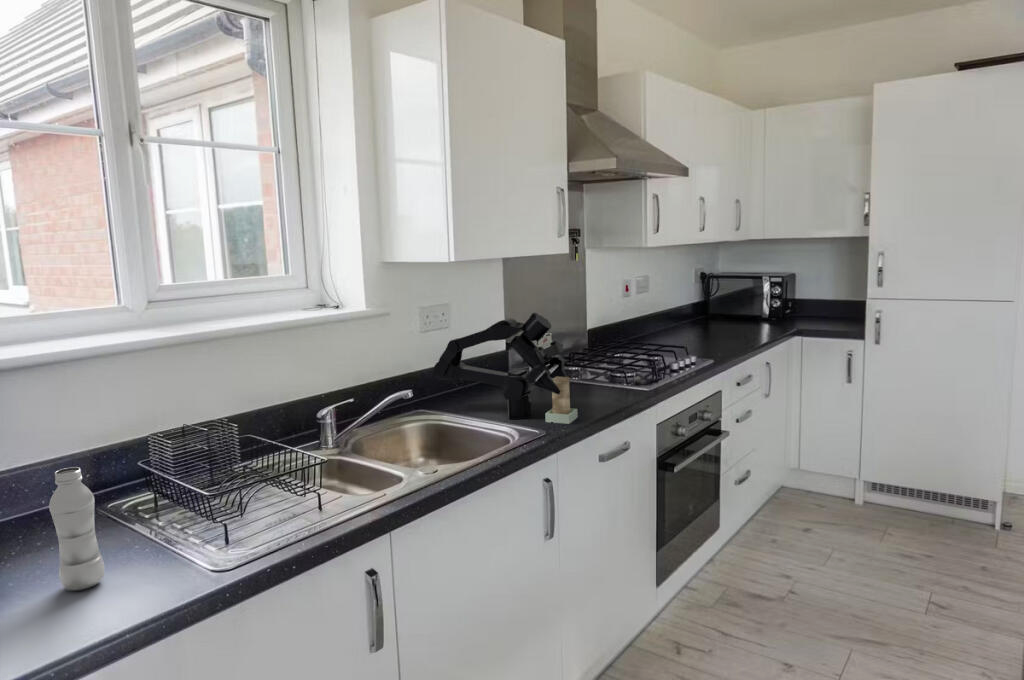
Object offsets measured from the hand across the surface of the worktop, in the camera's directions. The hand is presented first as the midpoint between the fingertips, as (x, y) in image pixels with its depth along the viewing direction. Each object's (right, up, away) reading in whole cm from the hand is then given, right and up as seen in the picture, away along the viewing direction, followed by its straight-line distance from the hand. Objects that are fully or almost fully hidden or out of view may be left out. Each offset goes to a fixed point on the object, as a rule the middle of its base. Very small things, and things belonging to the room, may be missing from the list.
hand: (565, 389), depth 205 cm
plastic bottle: (-87, -27, -89) cm, 127 cm away
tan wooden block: (-1, -8, +2) cm, 9 cm away
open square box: (-1, -9, +2) cm, 9 cm away
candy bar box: (-4, 0, +66) cm, 66 cm away
